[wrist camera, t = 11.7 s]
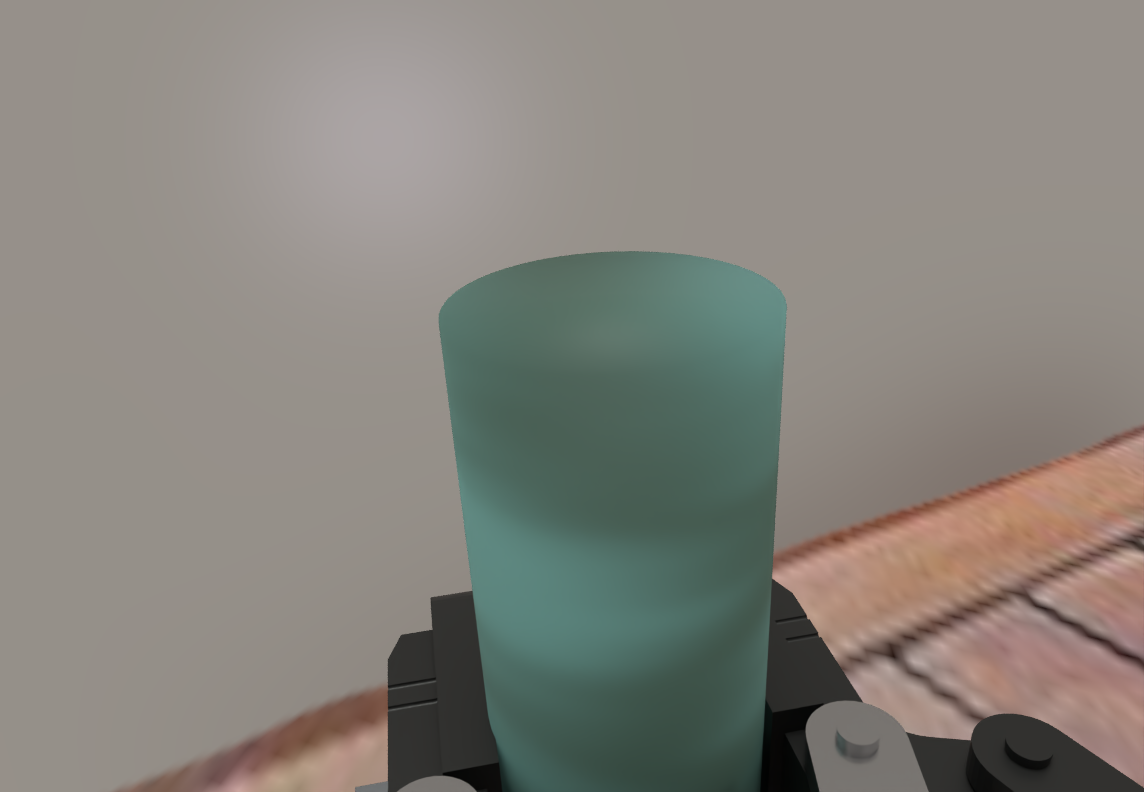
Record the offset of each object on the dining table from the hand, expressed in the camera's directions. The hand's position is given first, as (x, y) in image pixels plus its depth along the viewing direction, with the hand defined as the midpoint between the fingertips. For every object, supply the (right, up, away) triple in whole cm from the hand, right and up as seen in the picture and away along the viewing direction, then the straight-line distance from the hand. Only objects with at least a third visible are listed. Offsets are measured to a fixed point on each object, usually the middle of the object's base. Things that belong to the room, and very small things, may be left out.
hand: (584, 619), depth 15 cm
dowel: (+1, -10, +2) cm, 10 cm away
